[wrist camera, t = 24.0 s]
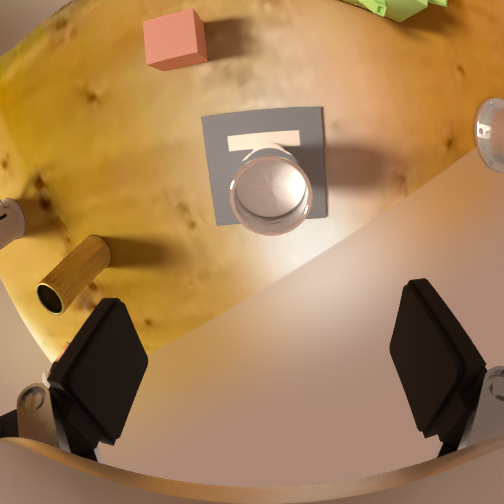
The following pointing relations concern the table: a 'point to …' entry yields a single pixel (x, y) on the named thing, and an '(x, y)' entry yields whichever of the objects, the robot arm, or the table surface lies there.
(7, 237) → the grey and black mug
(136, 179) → the table surface
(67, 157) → the table surface
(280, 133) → the board
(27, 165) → the table surface
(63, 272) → the vase
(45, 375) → the grandmother figurine
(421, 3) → the kettle
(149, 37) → the block
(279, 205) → the beer glass
